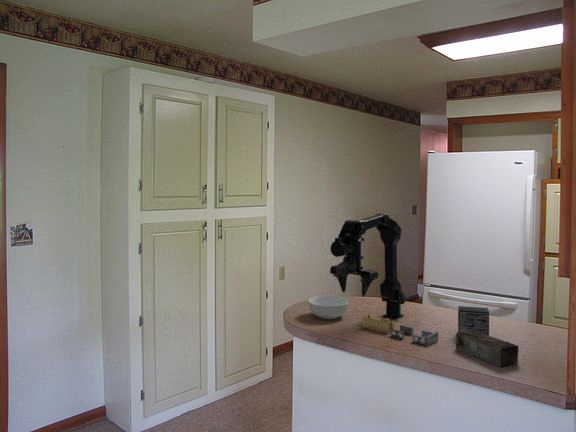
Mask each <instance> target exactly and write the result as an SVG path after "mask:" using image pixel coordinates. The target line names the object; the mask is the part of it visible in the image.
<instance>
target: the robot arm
mask: <svg viewBox="0 0 576 432" xmlns="http://www.w3.org/2000/svg"><path fill="white" fill-rule="evenodd" d="M373 228H376V229H377V231H378V232H379V237H380V240H381V242H382V244H383V245H384V251H383V252H384V280H382V281H383V282H382V283H379V284H380V285H379V288H380V289H379V290H380V291H379V293H380V295H381V296H380V297H381V301H382V302H385V304H386V305H385V306H386V307H385V313H384V314H383V317H385V318H389V319H395V320H397V319H400V318H402V317H405V315H404V314H402V312H401V310H402V306H401V305H404V304H405V303H406V300H407V297H406V296H405V294H404V292H403V291H402V285H401V283H400V281H399V279H398V262H397V260H398V258H397V255H398V253H397V249H398V248H397V245H398V243H399V241H400V240H401V236H402V235H401V234H402V227H401V226H400V224H399V223H398V222H397V221H395V220H394V219H392V218H390V216H389V215H388V214H386V213H376V214H374V215H371V216H369V217H365V218H362V219H347V220H345V221H344V222H343V225H342V227H341V229H340V231H339V234H338V236H337V237H334V241H333V242H332V243H331V245H330V247H329V248H330V250H329V251H330V253H331V254H332V256H334V257H335V258H339V257H343V258H342V261H341V262H340V263H338V264H335V265H331V266H330V269H329V274H332V276H333V277H335V278H336V279H337V281H338V284H339V286H340V289H341V291H342V293H346V289H347V282H348V281H347V280H348V276H349V275H355V276H360V279H359V280H360V283H361V297H365V296H366V294H367V291H368V290H369V288H370V285H371V284H372V282H373V281H375V280H376V279H378V278H379V272H378V271H377V270H376V269H371V268H369V269H368V268H367V269H364V266H362V259H363V260H364V256H363V255H362V242H364V241H365V238H364V237H363V235H366V233H367V231H368V230H370V229H373Z"/></svg>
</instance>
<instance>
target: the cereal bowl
mask: <svg viewBox="0 0 576 432" xmlns="http://www.w3.org/2000/svg"><path fill="white" fill-rule="evenodd" d="M308 308H309V311H310V312H311V313H312V314H313V315H314V316H317V317H319V318H320V319H322V320H335V319H337V318H338V317H341V316H344V314H345V313H347V311H348V310H349V300H348V299H347V298H345V297H344V296H342V297H341V296H338V295H337V296H336V295H318V296H314V297H312V298H311V297H310V298H309V299H308Z"/></svg>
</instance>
